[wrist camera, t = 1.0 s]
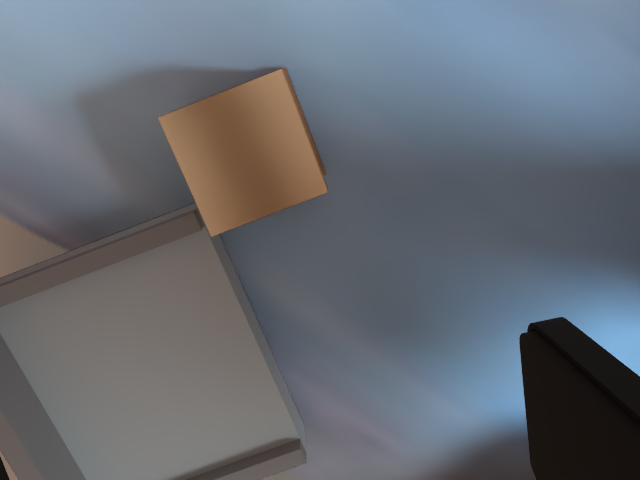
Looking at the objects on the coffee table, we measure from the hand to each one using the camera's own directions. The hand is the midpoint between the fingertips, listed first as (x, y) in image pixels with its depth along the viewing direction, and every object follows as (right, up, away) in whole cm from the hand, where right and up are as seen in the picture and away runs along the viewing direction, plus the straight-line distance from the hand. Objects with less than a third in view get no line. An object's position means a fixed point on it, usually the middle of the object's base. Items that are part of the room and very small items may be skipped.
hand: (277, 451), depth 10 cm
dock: (-10, -4, +24) cm, 26 cm away
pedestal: (-3, +9, +21) cm, 23 cm away
